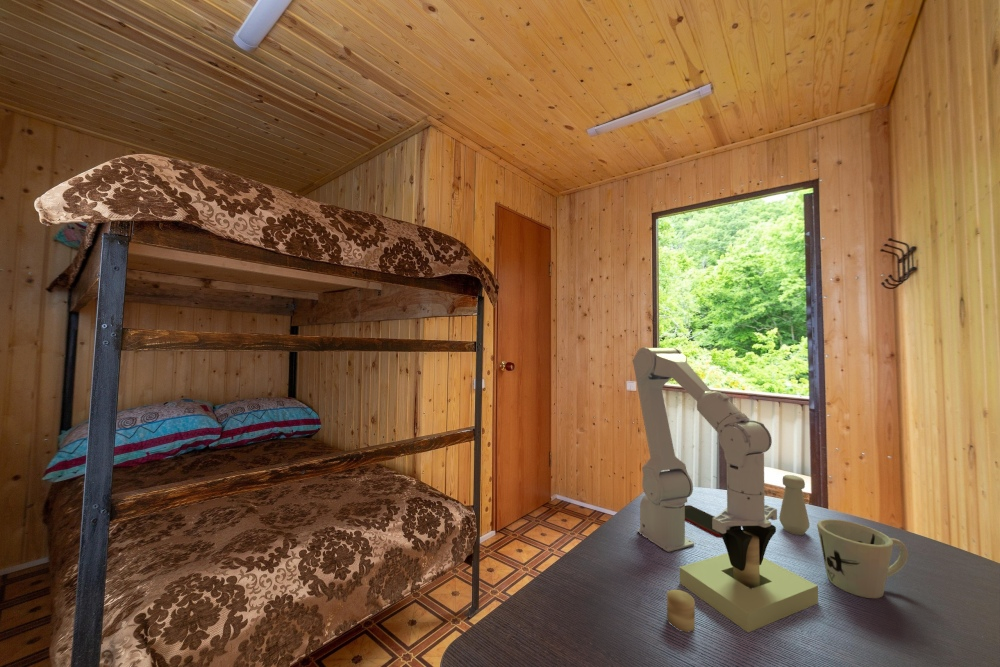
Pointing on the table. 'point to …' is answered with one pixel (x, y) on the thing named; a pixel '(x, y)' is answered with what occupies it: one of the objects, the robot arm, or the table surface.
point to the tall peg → (750, 565)
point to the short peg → (681, 610)
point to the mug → (858, 557)
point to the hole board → (749, 591)
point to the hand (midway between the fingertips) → (746, 564)
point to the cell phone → (700, 519)
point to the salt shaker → (794, 506)
